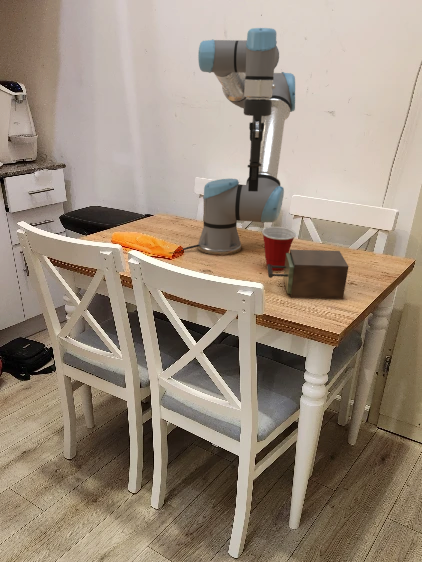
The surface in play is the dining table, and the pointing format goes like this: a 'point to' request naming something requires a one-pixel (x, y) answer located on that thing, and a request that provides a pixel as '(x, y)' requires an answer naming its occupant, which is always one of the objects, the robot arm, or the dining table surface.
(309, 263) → the cabinet
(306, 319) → the dining table surface
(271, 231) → the plastic cup
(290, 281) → the drawer
